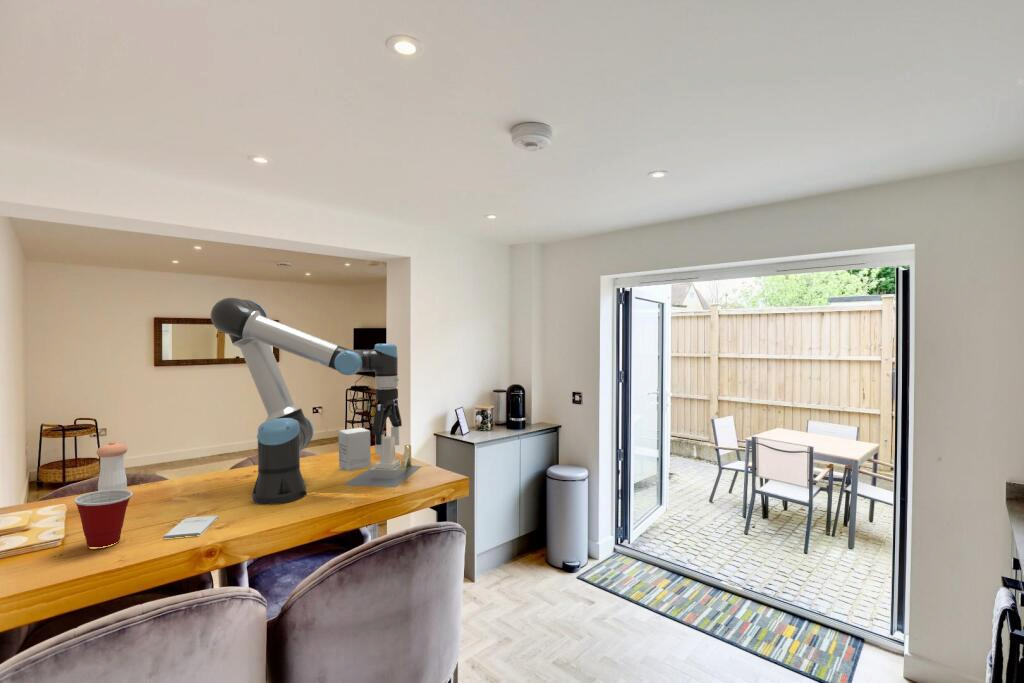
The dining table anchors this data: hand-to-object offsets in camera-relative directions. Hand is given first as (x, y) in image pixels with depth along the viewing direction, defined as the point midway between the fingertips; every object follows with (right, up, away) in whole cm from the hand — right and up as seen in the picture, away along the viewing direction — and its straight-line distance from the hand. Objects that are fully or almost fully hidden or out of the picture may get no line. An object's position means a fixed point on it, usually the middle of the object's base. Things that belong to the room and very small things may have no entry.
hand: (387, 449), depth 170 cm
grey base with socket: (-1, -10, 0) cm, 10 cm away
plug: (0, -9, 0) cm, 9 cm away
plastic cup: (-54, -11, -53) cm, 77 cm away
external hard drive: (-40, -12, -43) cm, 60 cm away
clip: (+6, -9, 0) cm, 10 cm away
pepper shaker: (-75, -11, -25) cm, 80 cm away
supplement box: (-15, -11, +12) cm, 23 cm away
